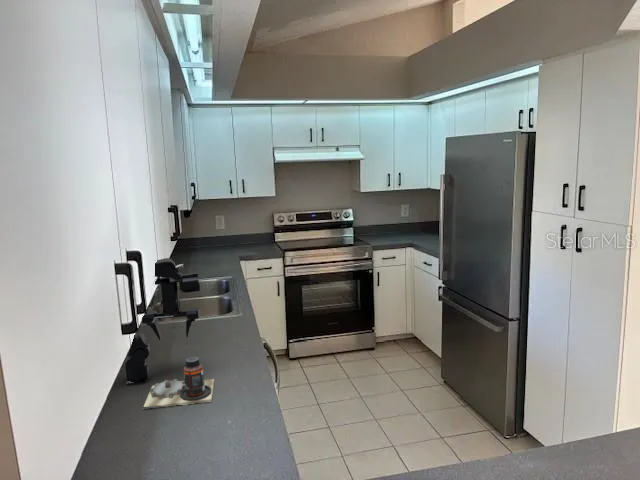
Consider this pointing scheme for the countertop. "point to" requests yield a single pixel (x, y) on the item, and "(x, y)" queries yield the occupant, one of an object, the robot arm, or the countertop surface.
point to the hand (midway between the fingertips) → (173, 338)
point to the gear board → (177, 398)
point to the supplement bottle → (194, 377)
